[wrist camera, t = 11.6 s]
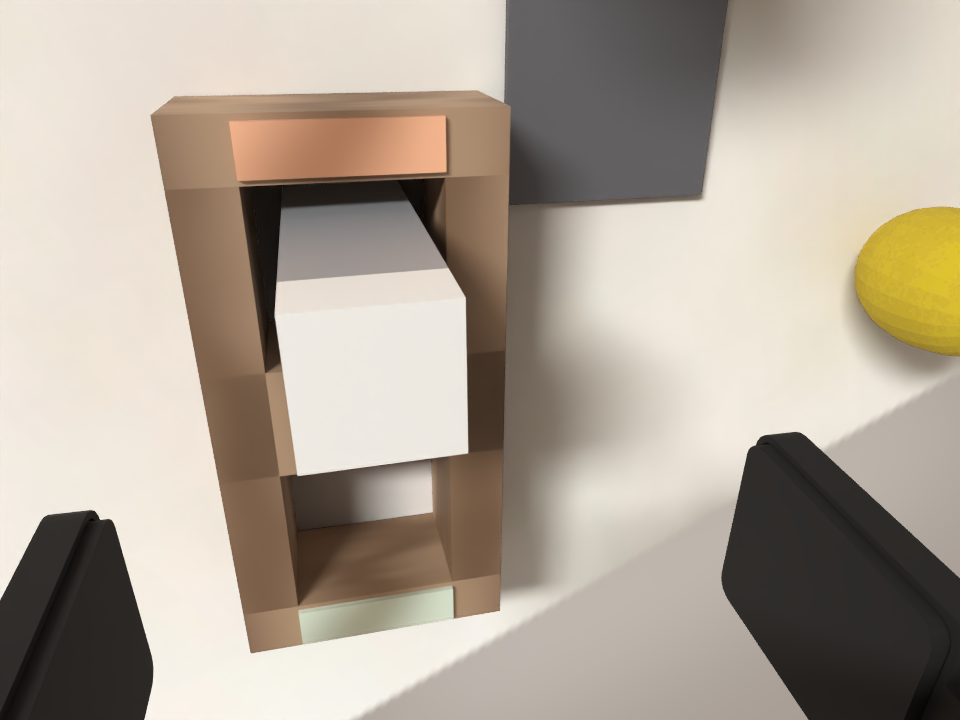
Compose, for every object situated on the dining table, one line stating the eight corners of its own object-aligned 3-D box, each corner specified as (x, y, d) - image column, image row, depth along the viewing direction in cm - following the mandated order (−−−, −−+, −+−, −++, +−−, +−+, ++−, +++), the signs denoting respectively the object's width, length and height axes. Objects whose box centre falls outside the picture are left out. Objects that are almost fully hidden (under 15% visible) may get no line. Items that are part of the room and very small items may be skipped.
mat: (727, -36, 26) (732, -36, 25) (696, 192, 29) (701, 194, 29) (507, -39, 24) (510, -40, 24) (502, 202, 27) (505, 205, 27)
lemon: (866, 328, 34) (1014, 411, 27) (792, 272, 32) (933, 347, 25) (949, 228, 33) (1129, 290, 26) (878, 162, 30) (1054, 210, 23)
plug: (396, 179, 26) (465, 297, 16) (402, 284, 28) (467, 453, 17) (282, 186, 25) (274, 314, 15) (296, 293, 27) (297, 476, 17)
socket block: (477, 90, 25) (512, 107, 21) (475, 541, 34) (500, 614, 30) (174, 96, 23) (149, 116, 19) (255, 573, 32) (250, 657, 28)
